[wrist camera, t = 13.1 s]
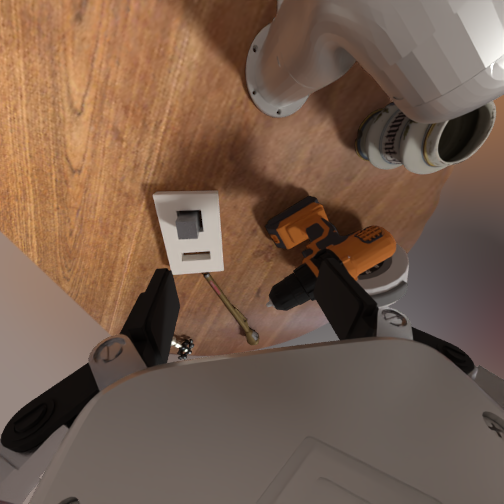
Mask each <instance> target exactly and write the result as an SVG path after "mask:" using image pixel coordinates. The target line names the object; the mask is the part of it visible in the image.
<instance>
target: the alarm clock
mask: <svg viewBox="0 0 504 504" xmlns="http://www.w3.org/2000/svg"><path fill="white" fill-rule="evenodd" d="M408 268H409V261H408V255H407V254H406V252H405V251H404V249H403V248H402V247H400V246H399V245H398V244H396V251H395V252H394V254H393V255H392V256H391V257H389V258H387V259H386V260H384V261H382V262H380V263H378V264H377V265H375V266H373V267H371V268H370V269H368V270H366V271H364V272H362V273H361V274H359V275H358V280H357V282H358V283H359V285H360V286H361V287H362V288H363V289H364V290H365V291H366V292H367V293H368V294H369V295H370V296H371V297H372V298H373V299H374V300H375V301H376V303H377V307H378V308H379V309H380V308H381V307H387V306H389V305H391V304H393V303H395V302H396V301H397V300H399V299H400V298H402V297H403V296H404V295H405V294H406V292H407V276H408Z"/></svg>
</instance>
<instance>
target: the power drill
mask: <svg viewBox="0 0 504 504" xmlns="http://www.w3.org/2000/svg"><path fill="white" fill-rule="evenodd" d="M265 228H266V229H267V231H268V233H269V234H270V236H271V238H272V239H273V241H274V243H275V244H276V246H277V247H278V248H284V249H290V248H292V247H294V246H296V245H298V244H299V243H301V242H303V241H305V240H306V239H308V238H309V240H310V242H311V243H310V244H308V245H307V246H306V249H307V250H305V251H303V252H302V254H303V256H304V260H303V261H302V265H301V266H299V267H298V268H296V269H295V270H293V272H294V273H295V274H294V273H292V274H290V275H289V276H287V277H286V278H284V280H282V281H280V282H279V283H277V284H276V285H274V286H273V287H272V289H271V292H270V294H269V300H270V301H269V302H268V303H267V304H266V305H267V307H270V306H273V307H274V308H276V309H277V310H286V311H287V310H289V309H291V308H293V307H295V306H297V305H301V304H303V303H305V302H306V301H308V300H310V299H311V300H312V301H313V300H316V299H315V297H314V288H315V284H316V281H317V277H318V273H319V269H320V266H321V262H322V261H324V259H328V258H335V259H336V260H337V261H338V262H339V263H340V264H341V265H342V266H343V268H344V269H345V270H346V271H347V272H348V273H349V274H350V275H351V276H352V277H353V278H354V279H355V280H356V281H357V280H358V275H359V274H361V273H362V272H364V271H366V270H368V269H370V268H371V267H373V266H375V265H377V264H378V263H380V262H382V261H384V260H386V259H387V258H389V257H391V256H392V255H393V254H394V252H395V251H396V242H395V240H394V238H393V236H392V235H391V234H390V233H389V232H388V231H387V230H385V229H384V228H382V227H379V226H369V227H367V228H365V229H363V230H362V231H361V230H359V231H357V232H354V233H352V234H349V235H346V236H340V235H339V234H338V231H337V229H336V228H335V226H334V225H333V224H332V223H330V222H329V221H328V218H327V216H326V213H325V211H324V208H323V206H322V205H321V204H319V202H318V200H317V198H315V197H311V196H308V197H306V198H305V199H303V200H301V201H300V202H298V203H296V204H295V205H293V206H291V207H290V208H288V209H286V210H285V211H283V212H282V213H280V214H278V215H277V216H275V217H273V218H272V219H270V220H269V221H268V224H266V226H265Z"/></svg>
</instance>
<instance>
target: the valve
mask: <svg viewBox="0 0 504 504" xmlns="http://www.w3.org/2000/svg"><path fill="white" fill-rule="evenodd" d="M192 342H193V340H192V339H190V342H189V340H185V342H183V343H182V344H181V342H179V341H176V337H175V336H173V339H172V343H171V346H172V345H174V346H175V347H176V348H178V347H179V351H178V353H177V354H179V355H181V356H179V357H178V359H180V360H181V359H182V358H183V359H186V358H187V354H191V353H192V351H191V348H193V347H194V344H193V343H192ZM188 344H189V348H188V347H187V345H188ZM187 350H188V351H187ZM183 351H184V352H186V351H187V352H186V353H185V354H183Z"/></svg>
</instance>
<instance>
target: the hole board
mask: <svg viewBox="0 0 504 504" xmlns="http://www.w3.org/2000/svg"><path fill="white" fill-rule="evenodd" d="M153 199H154V203H155V207H156V211H157V215H158V219H159V223H160V227H161V231H162V235H163V239H164V243H165V247H166V251H167V256H168V260H169V264H170V268H171V271H172V274H173V275H176V274H188V273H201V272H214V271H224V266H223V252H222V238H221V225H220V211H219V197H218V190H216V191H162V192H156V193H154V194H153ZM184 210H201V214H202V222H203V227H200V231H199V236H198V239H180V240H179V239H178V234H177V228H176V223H175V221H176V220H177V218H178V216H179V214H180V212H179V211H184ZM204 251H210V253H209V254H194V255H184V254H183V253H189V252H204Z"/></svg>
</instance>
